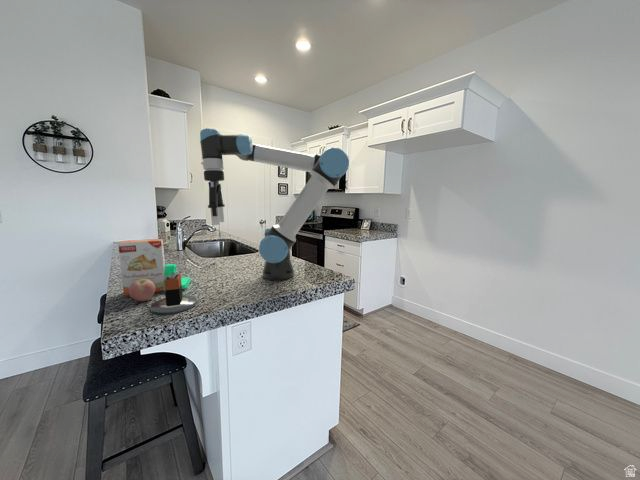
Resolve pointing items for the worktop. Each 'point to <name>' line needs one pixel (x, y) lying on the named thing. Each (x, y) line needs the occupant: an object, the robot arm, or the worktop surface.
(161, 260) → the cracker box
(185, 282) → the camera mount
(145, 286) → the apple
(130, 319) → the worktop surface
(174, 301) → the battery
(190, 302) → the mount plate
